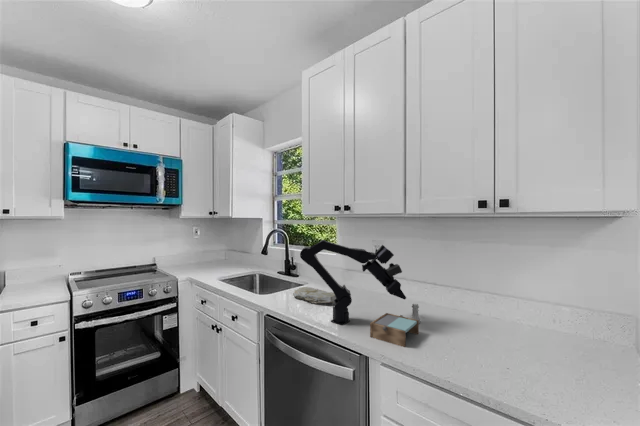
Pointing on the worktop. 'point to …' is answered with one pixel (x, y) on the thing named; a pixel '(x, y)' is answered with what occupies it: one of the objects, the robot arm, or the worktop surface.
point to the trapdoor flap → (397, 322)
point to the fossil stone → (314, 295)
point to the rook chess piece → (415, 312)
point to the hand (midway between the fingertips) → (402, 295)
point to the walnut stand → (391, 332)
